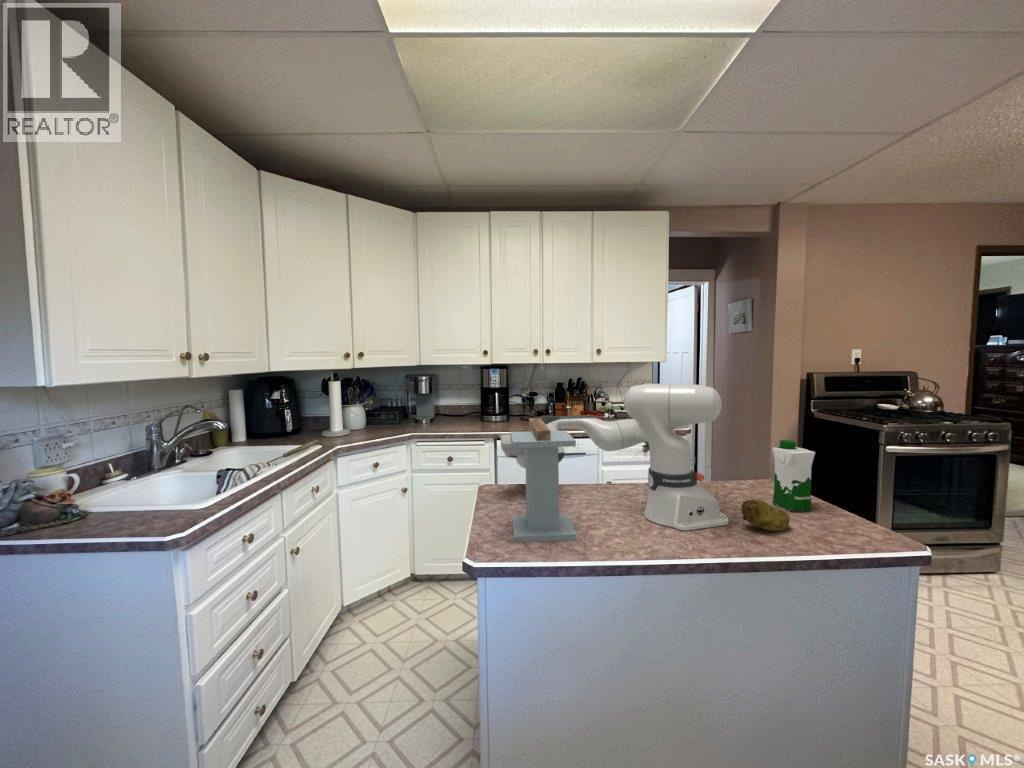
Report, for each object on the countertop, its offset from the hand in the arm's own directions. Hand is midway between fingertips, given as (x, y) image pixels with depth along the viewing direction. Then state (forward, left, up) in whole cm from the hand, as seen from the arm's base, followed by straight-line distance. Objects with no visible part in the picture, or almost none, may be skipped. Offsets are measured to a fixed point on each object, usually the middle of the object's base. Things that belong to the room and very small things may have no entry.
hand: (532, 434), depth 128 cm
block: (0, +14, +3) cm, 15 cm away
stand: (0, +19, -23) cm, 30 cm away
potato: (-60, +24, -23) cm, 69 cm away
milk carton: (-78, +10, -23) cm, 82 cm away
